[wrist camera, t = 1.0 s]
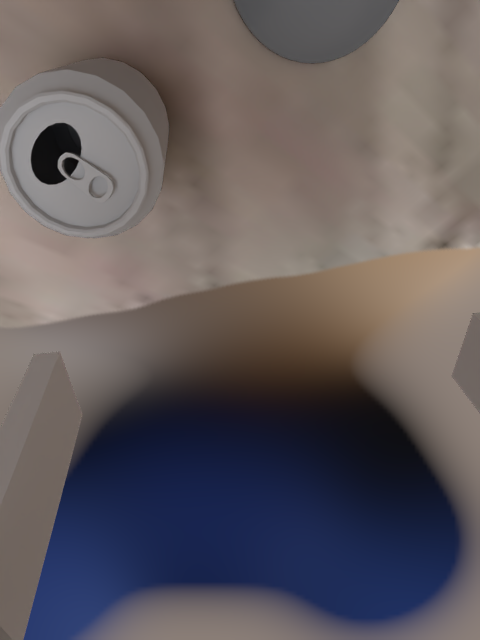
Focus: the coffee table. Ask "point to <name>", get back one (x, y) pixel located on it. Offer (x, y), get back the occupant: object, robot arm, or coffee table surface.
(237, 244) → the coffee table surface
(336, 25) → the coaster
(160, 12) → the coffee table surface
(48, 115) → the can
